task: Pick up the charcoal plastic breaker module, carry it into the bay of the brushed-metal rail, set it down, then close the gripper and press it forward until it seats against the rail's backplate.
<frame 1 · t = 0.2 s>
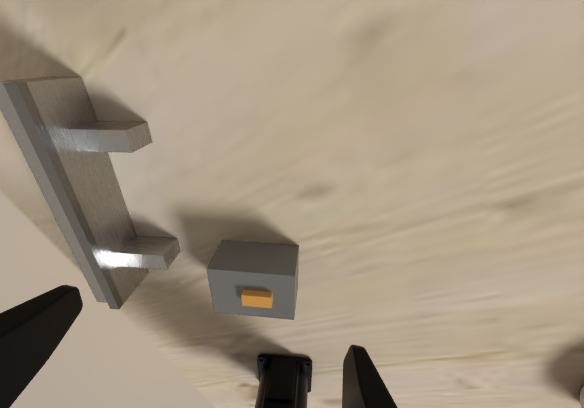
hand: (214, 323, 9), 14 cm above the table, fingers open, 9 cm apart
rail: (107, 192, 23), on the table
module: (261, 262, 26), on the table
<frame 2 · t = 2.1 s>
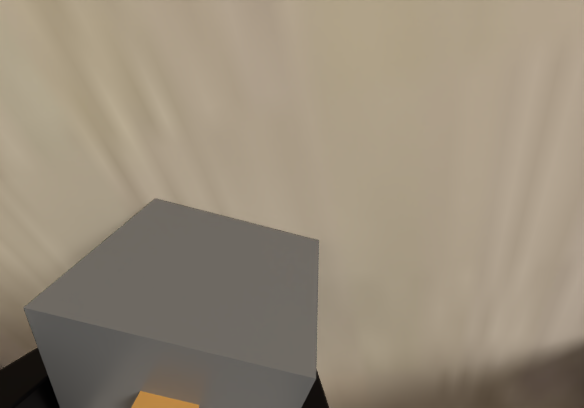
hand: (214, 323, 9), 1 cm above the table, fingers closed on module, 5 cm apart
module: (224, 299, 10), on the table, touching gripper
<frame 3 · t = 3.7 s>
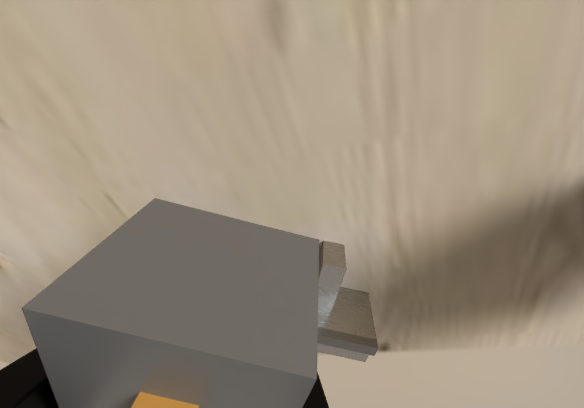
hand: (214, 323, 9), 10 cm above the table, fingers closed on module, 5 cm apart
rail: (254, 280, 22), on the table
module: (224, 299, 10), point 9 cm above the table, touching gripper
when the fingers open (2 cm above the table, at t = 5.5 s): module drops 2 cm, on the table.
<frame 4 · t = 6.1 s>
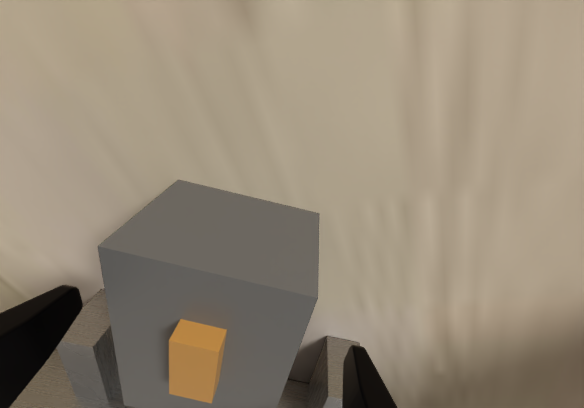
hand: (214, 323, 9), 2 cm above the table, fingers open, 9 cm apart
rail: (223, 379, 15), on the table
module: (238, 267, 11), on the table
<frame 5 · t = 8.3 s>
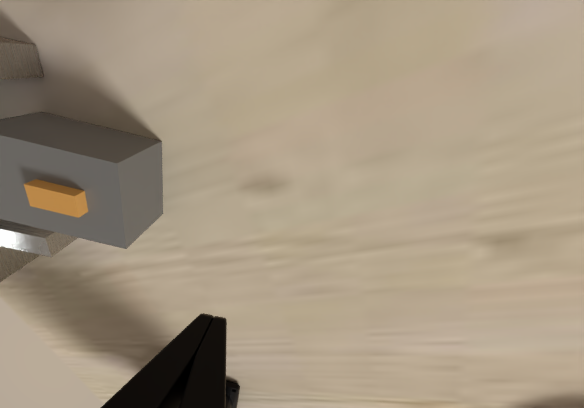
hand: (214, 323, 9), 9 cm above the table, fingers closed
module: (109, 165, 17), on the table
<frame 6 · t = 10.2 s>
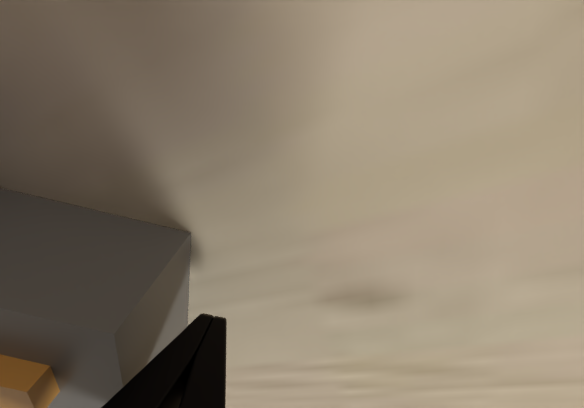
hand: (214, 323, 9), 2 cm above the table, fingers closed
module: (102, 261, 10), on the table, touching gripper
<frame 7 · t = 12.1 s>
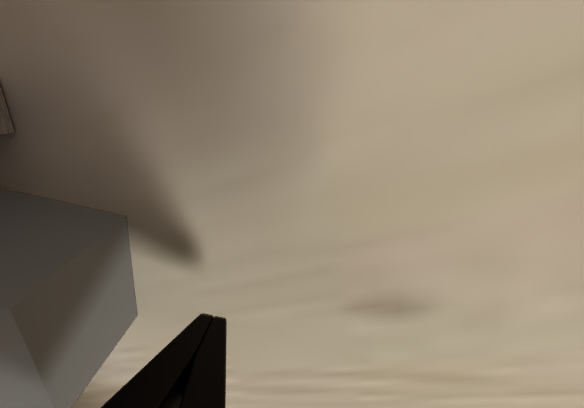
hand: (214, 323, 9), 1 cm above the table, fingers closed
module: (45, 248, 10), on the table
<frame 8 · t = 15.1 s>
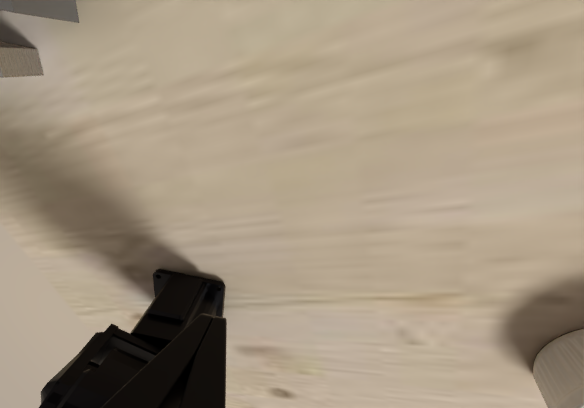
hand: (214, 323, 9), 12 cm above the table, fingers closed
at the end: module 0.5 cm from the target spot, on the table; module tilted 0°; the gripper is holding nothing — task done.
